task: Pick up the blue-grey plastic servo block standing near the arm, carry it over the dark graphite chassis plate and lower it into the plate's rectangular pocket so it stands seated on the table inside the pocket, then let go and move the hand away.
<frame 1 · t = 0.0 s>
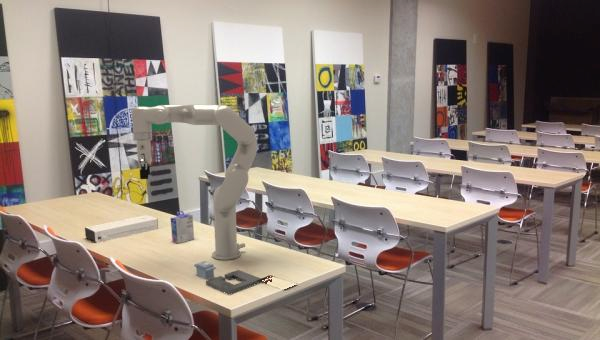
hand: (145, 176, 218), 37 cm above the table, tool pointing down, fingers open, 9 cm apart
chassis: (234, 283, 199), on the table
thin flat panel: (277, 284, 199), on the table
ink cartridge box: (183, 240, 254), on the table
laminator: (123, 234, 267), on the table
servo: (205, 275, 207), on the table
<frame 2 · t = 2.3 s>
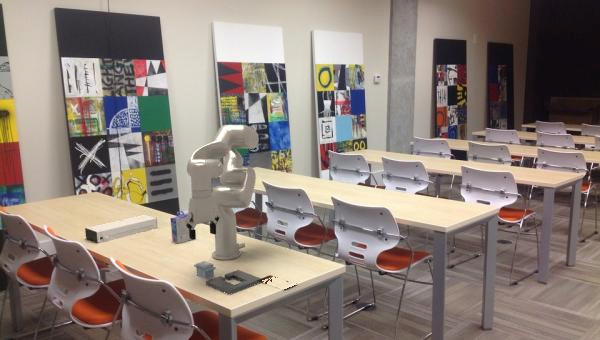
hand: (203, 236, 204), 16 cm above the table, tool pointing down, fingers open, 9 cm apart
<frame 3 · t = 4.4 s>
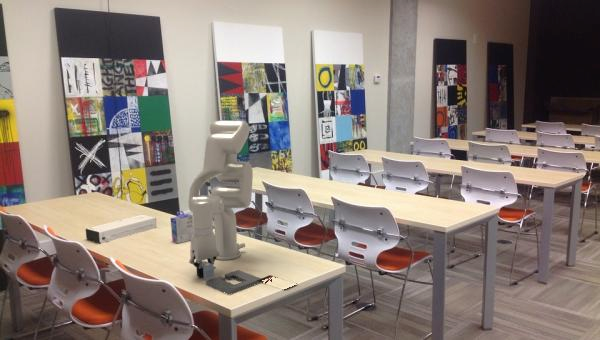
hand: (205, 274, 207), 0 cm above the table, tool pointing down, fingers closed on servo, 4 cm apart
servo: (205, 275, 207), on the table, touching gripper
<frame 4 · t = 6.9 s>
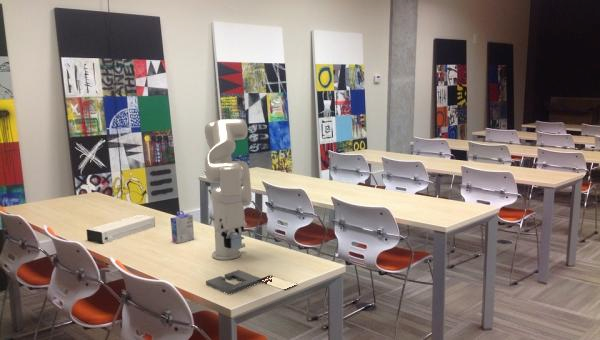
hand: (232, 245, 196), 15 cm above the table, tool pointing down, fingers closed on servo, 4 cm apart
servo: (232, 246, 196), point 15 cm above the table, touching gripper
when the fingers open (3 cm above the table, at t = 9.4 s): servo drops 2 cm, resting in chassis.
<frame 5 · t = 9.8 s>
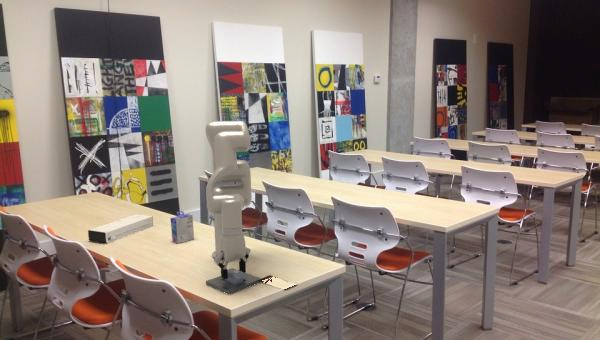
hand: (233, 274, 198), 4 cm above the table, tool pointing down, fingers open, 8 cm apart
servo: (233, 283, 199), resting in chassis
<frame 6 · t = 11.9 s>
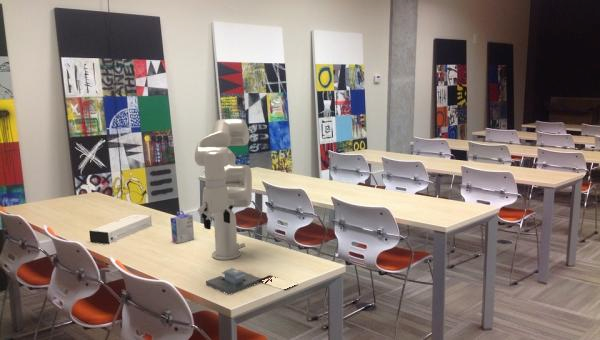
hand: (217, 225, 201), 21 cm above the table, tool pointing down, fingers open, 9 cm apart
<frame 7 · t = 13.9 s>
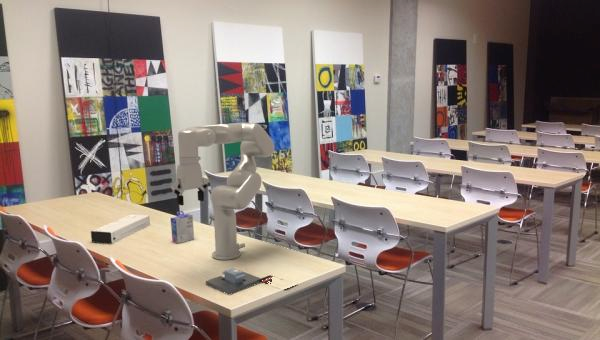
hand: (191, 202, 209), 28 cm above the table, tool pointing down, fingers open, 9 cm apart
at the end: servo 0.1 cm off-centre on the chassis, point 0.0 cm above the chassis's base; servo tilted 0°; the gripper is holding nothing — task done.
